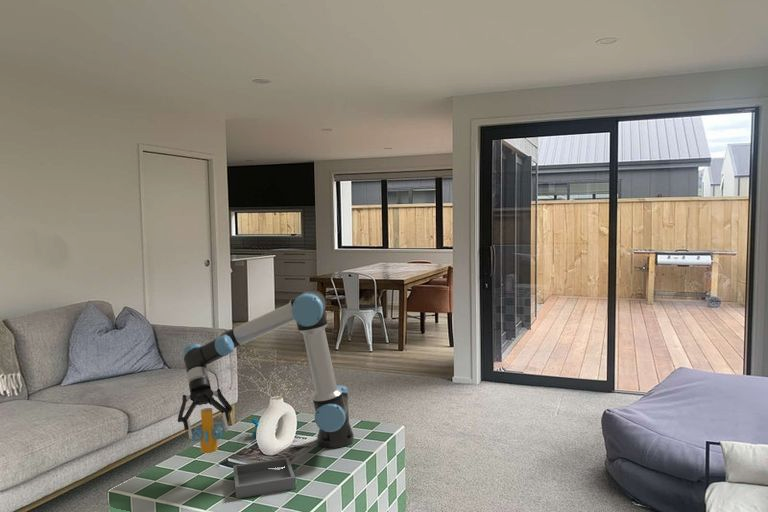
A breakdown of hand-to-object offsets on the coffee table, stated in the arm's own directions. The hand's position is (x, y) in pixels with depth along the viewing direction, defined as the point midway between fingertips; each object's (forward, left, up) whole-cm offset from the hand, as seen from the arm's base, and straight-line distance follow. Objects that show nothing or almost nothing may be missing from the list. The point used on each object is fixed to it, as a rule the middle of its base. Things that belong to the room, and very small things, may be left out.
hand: (209, 433), depth 210 cm
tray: (-18, +9, -17) cm, 26 cm away
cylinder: (0, -3, -7) cm, 8 cm away
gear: (-21, -38, -17) cm, 46 cm away
